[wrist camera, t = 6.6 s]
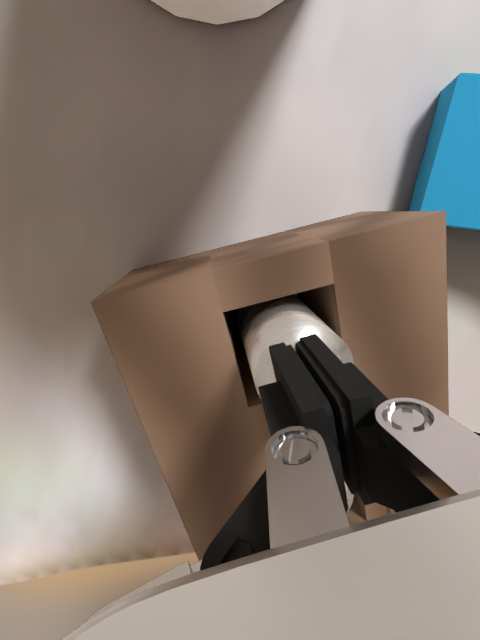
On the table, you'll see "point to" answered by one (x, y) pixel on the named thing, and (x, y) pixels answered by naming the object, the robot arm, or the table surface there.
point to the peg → (281, 333)
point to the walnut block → (231, 360)
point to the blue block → (453, 156)
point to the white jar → (217, 9)
